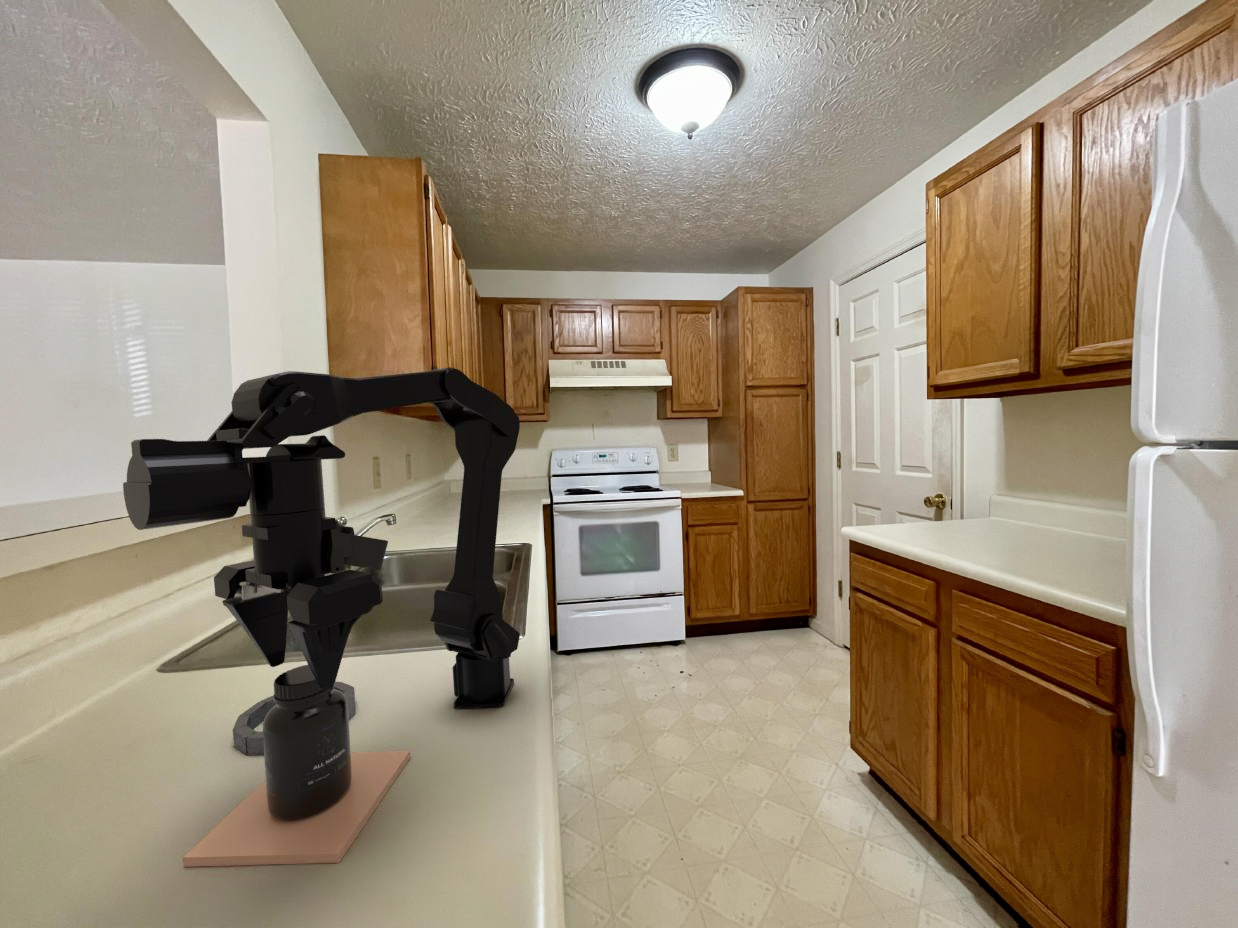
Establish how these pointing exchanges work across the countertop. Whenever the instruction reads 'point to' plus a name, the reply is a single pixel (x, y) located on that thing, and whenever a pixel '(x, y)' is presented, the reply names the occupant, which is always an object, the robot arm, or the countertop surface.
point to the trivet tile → (300, 822)
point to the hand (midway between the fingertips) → (301, 675)
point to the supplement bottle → (305, 746)
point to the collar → (252, 717)
